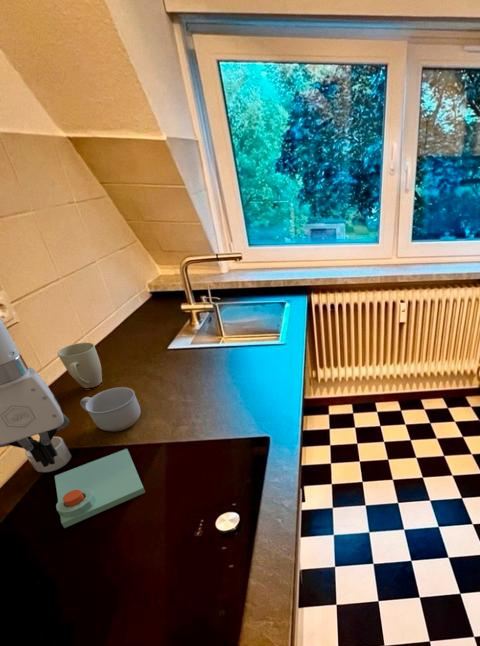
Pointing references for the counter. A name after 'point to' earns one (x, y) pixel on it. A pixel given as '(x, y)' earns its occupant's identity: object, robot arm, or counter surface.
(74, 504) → the tare button
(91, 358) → the mug
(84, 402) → the teacup
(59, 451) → the bowl
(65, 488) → the scale
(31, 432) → the robot arm
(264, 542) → the counter surface
